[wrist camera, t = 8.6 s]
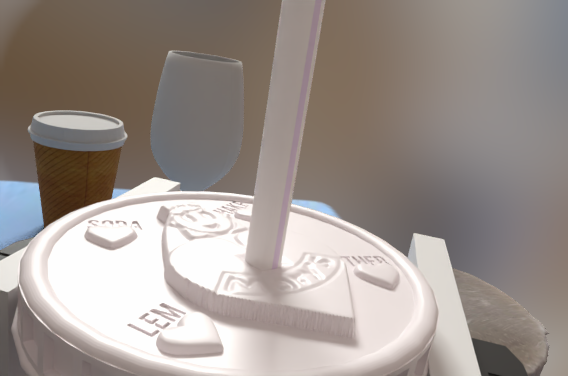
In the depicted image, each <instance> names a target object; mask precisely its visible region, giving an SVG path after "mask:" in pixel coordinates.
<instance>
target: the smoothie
mask: <svg viewBox="0 0 568 376" xmlns="http://www.w3.org/2000/svg"><path fill="white" fill-rule="evenodd" d="M324 6H325V0H282V5H281V12H280V19H279V26H278V33H277V40H276V47H275V54H274V61H273V67H272V74H271V81H270V88H269V95H268V103H267V109H266V116H265V123H264V130H263V137H262V144H261V150H260V157H259V164H258V171H257V178H256V185H255V192H254V196H247V195H240V194H232V193H218V192H203V191H173V192H157V193H145V194H138V195H131V196H124V197H119V198H115V199H111V200H107V201H102V202H98V203H95V204H92V205H89V206H87V207H84V208H81V209H78V210H76V211H73V212H71V213H69V214H67V215H65V216H63V217H62V218H60V219H58V220H56V221H55V222H53V223H51V224H49V225H48V226H47V227H46V228H45V229H43V230H42V231H41V232H40V233H38V234H37V235H36V236H35V237H34V238H33V239H32V240H31V242H30V243H29V244H28V246H27V247H26V249H25V250H24V252H23V254H22V256H21V259H20V261H19V266H18V304H17V308H16V312H15V315H14V319H13V323H12V327H11V332H12V335H13V339H14V343H15V346H16V350H17V354H18V358H19V361H20V365H21V368H22V369H23V370H24V371H25V373H26V374H27V375H28V376H427V375H428V358H429V355H430V351H431V347H432V344H433V340H434V337H435V334H436V330H437V326H438V322H439V308H438V302H437V299H436V296H435V294H434V291H433V289H432V288H431V286H430V284H429V282H428V281H427V280H426V278H425V277H424V276H423V274H422V273H421V271H420V270H419V269H418V268H417V267H416V266H415V265H414V264H413V263H412V262H411V261H410V260H409V259H408V258H407V257H406V256H405V255H403V254H402V253H401V252H399V251H398V250H396V249H395V248H394V247H392V246H391V245H389V244H388V243H387V242H385V241H384V240H382V239H380V238H378V237H377V236H375V235H373V234H371V233H369V232H367V231H366V230H364V229H362V228H359V227H357V226H355V225H353V224H350V223H348V222H346V221H344V220H341V219H339V218H336V217H333V216H330V215H328V214H325V213H322V212H319V211H316V210H313V209H309V208H305V207H302V206H298V205H294V204H291V202H292V196H293V190H294V184H295V178H296V172H297V167H298V160H299V155H300V149H301V143H302V137H303V130H304V124H305V118H306V113H307V107H308V101H309V95H310V89H311V83H312V77H313V71H314V65H315V59H316V53H317V47H318V41H319V35H320V29H321V24H322V18H323V11H324Z"/></svg>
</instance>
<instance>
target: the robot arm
mask: <svg viewBox="0 0 568 376" xmlns="http://www.w3.org/2000/svg"><path fill="white" fill-rule="evenodd" d="M173 191H180V183H179V182H174V181H169V180H165V179H160V178H155V177H154V178H152V179H150V180H149V181H147V182H145V183H143V184H141V185H139V186H138V187H136V188H134V189H132V190H130V191H128V192H126V193H125V194H123V195H121V196H119V197H124V196H131V195H138V194H145V193H157V192H173ZM119 197H117V198H119ZM33 238H34V237H33ZM33 238H30V239H26V240H22V241H18V242H15V243H13V244H11V245H10V246H8V247H6V248H4V249H2V250H0V376H28V375H27V374H26V373H25V371H24V370H23V369H22V368H21V365H20V361H19V358H18V354H17V350H16V346H15V343H14V339H13V335H12V332H11V327H12V323H13V319H14V315H15V312H16V308H17V304H18V266H19V261H20V259H21V256H22V254H23V252H24V250H25V249H26V247H27V246H28V244H29V243H30V242H31V240H32V239H33ZM408 259H409V260H410V261H411V262H412V263H413V264H414V265H415V266H416V267H417V268H418V269H419V270H420V271H421V273H422V274H423V276H424V277H425V278H426V280H427V281H428V282H429V284H430V286H431V288H432V289H433V291H434V294H435V296H436V299H437V302H438V308H439V322H438V326H437V330H436V334H435V337H434V340H433V344H432V347H431V351H430V355H429V358H428V375H427V376H528V375H527V372H526V370H525V367H524V365H523V364H522V363H521V362H520V360H519V359H518V358H517V357H516V356H515V355H514V354H513V353H512V352H511V351H510V350H509V349H508V348H507V347H506V346H504V345H500V344H495V343H491V342H487V341H483V340H479V339H475V338H471V336H470V333H469V329H468V325H467V322H466V318H465V314H464V311H463V307H462V303H461V299H460V296H459V292H458V288H457V285H456V281H455V277H454V274H453V270H452V266H451V263H450V259H449V255H448V252H447V248H446V245H445V241H444V239H439V238H434V237H430V236H425V235H420V234H416V233H414V234H413V238H412V242H411V246H410V250H409V254H408Z"/></svg>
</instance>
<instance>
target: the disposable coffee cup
mask: <svg viewBox="0 0 568 376" xmlns="http://www.w3.org/2000/svg"><path fill="white" fill-rule="evenodd" d="M28 132H29V134H31V138H32V140H33V142H34V150H35V158H36V166H37V174H38V181H39V182H38V183H39V190H40V197H41V206H42V213H43V221H44V228H46V227H47V226H48V225H49V224H51V223H53V222H55V221H56V220H58V219H60V218H62V217H63V216H65V215H67V214H69V213H71V212H73V211H76V210H78V209H81V208H84V207H87V206H89V205H92V204H95V203H98V202H102V201H107V200H111V198H112V193H113V188H114V183H115V178H116V173H117V168H118V163H119V158H120V152H121V148H122V146H123V144H124V141H125V140H126V139H127V134H126V133H125V132H124V126H123V123H122V121H120V120H119V119H116V118H113V117H110V116H107V115H103V114H96V113H90V112H82V111H46V112H40V113H37V114H36V115H34V117H33V120H32V124H31V126H29V128H28Z"/></svg>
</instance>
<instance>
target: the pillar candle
mask: <svg viewBox="0 0 568 376" xmlns="http://www.w3.org/2000/svg"><path fill="white" fill-rule="evenodd" d="M452 270H453V274H454V277H455V281H456V285H457V288H458V292H459V296H460V299H461V303H462V307H463V311H464V314H465V318H466V322H467V325H468V329H469V333H470V336H471V338H475V339H479V340H483V341H487V342H491V343H495V344H500V345H504V346H506V347H507V348H508V349H509V350H510V351H511V352H512V353H513V354H514V355H515V356H516V357H517V358H518V359H519V360H520V362H521V363H522V364H523V365H524V367H525V370H526V372H527V375H528V376H540V373H541V371H542V369H543V366H544V365H545V364H546V362H547V356H548V349H549V345H548V343H547V339H546V336H545V335H546V334H548V333H547V331H546V330H545V329H546V328H545V327H544V326H543V325H542V323H541V322H540V321H538V320H537V319H536V318H533V317H532V316H531V315H530V314H529V312H528V311H526V310H525V309H524V308H523V307H522V306H521V305H519V304H518V303H517V302H516V301H515V300H513V299H512V298H511V297H509V296H508V295H506V294H505V293H503V292H501V291H500V290H498V289H497V288H496V287H493V286H492V285H490V284H488V283H486V282H484V281H482V280H480V279H479V278H477V277H474V276H472V275H470V274H468V273H465V272H461V271H459V270H456V269H453V268H452Z"/></svg>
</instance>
